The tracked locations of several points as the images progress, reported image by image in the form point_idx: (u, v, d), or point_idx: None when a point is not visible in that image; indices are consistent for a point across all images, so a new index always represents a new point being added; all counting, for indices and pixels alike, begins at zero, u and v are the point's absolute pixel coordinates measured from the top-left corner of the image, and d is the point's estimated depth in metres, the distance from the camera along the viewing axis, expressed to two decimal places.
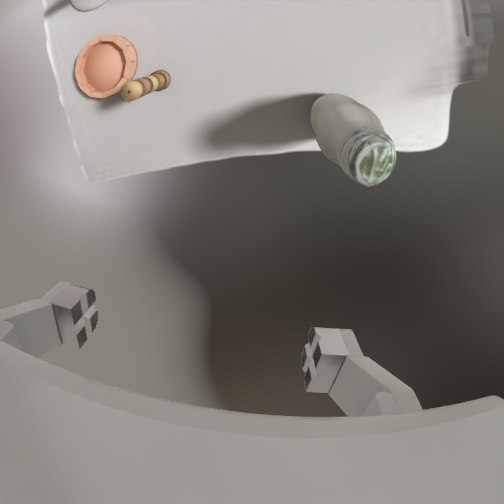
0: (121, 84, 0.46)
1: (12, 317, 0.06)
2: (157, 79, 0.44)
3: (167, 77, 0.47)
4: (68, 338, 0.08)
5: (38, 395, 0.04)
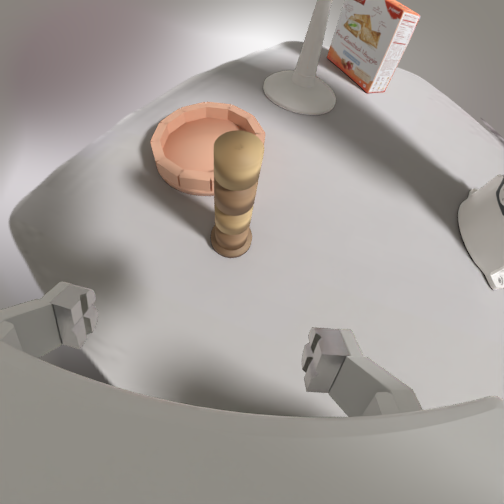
0: (195, 176, 0.31)
1: (12, 317, 0.06)
2: (249, 221, 0.27)
3: (246, 246, 0.31)
4: (68, 338, 0.08)
5: (38, 395, 0.04)
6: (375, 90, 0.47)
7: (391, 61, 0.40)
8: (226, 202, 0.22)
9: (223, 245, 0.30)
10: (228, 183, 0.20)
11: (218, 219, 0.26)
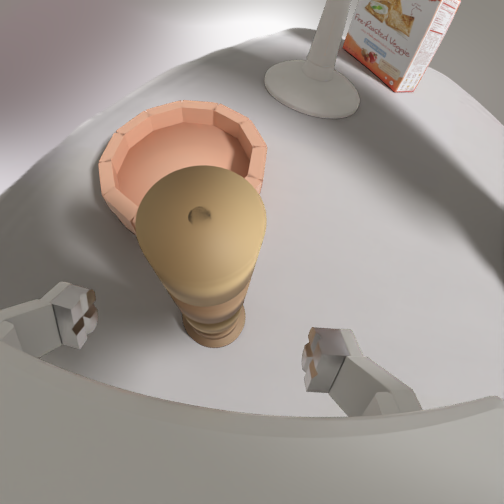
0: None
1: (12, 317, 0.06)
2: (239, 314, 0.15)
3: (236, 332, 0.19)
4: (68, 338, 0.08)
5: (38, 395, 0.04)
6: (404, 89, 0.35)
7: (426, 53, 0.28)
8: (189, 312, 0.11)
9: (200, 335, 0.18)
10: (182, 297, 0.08)
11: None
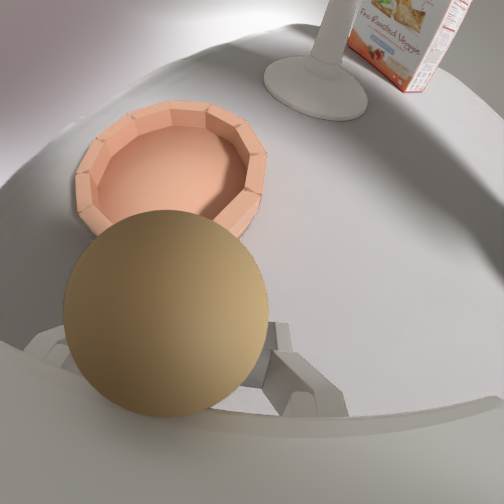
0: None
1: None
2: None
3: None
4: None
5: (38, 395, 0.04)
6: (413, 89, 0.33)
7: (437, 51, 0.25)
8: None
9: None
10: None
11: None
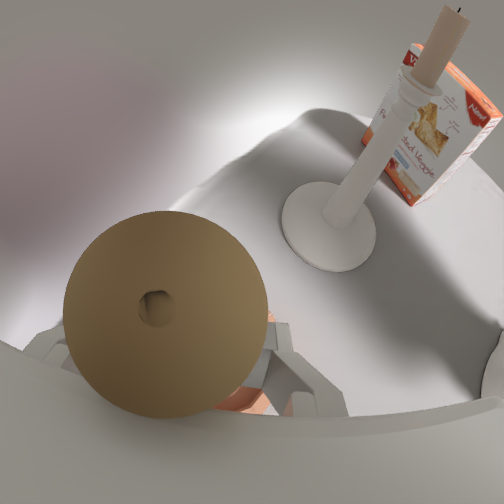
0: None
1: None
2: None
3: None
4: None
5: (38, 395, 0.04)
6: None
7: (451, 171, 0.32)
8: None
9: None
10: None
11: None
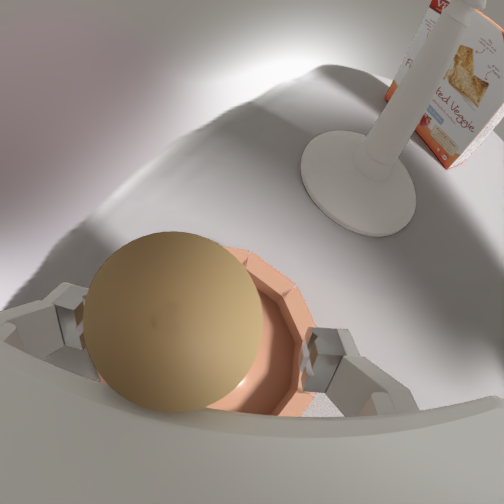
0: None
1: (14, 318, 0.06)
2: None
3: None
4: (71, 339, 0.08)
5: (38, 395, 0.04)
6: (456, 164, 0.30)
7: (491, 127, 0.23)
8: None
9: None
10: None
11: None
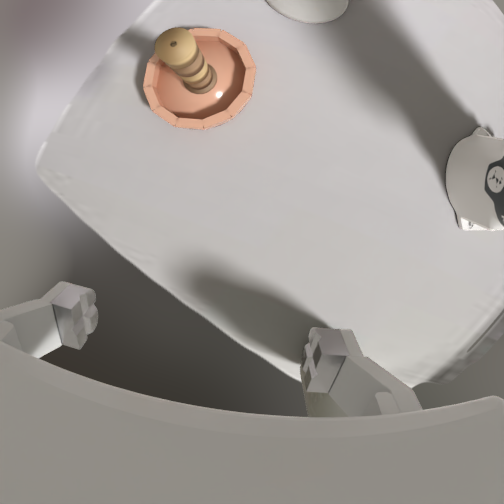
0: (189, 124, 0.32)
1: (12, 317, 0.06)
2: (206, 73, 0.27)
3: (211, 85, 0.32)
4: (68, 338, 0.08)
5: (38, 395, 0.04)
6: None
7: None
8: (177, 72, 0.23)
9: (191, 87, 0.31)
10: (172, 66, 0.21)
11: (179, 76, 0.27)
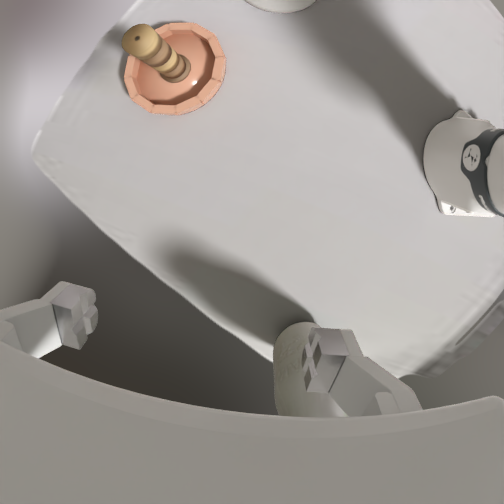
0: (163, 110, 0.34)
1: (12, 317, 0.06)
2: (175, 63, 0.29)
3: (185, 74, 0.33)
4: (68, 338, 0.08)
5: (38, 395, 0.04)
6: None
7: None
8: (146, 63, 0.25)
9: (166, 76, 0.32)
10: (138, 58, 0.22)
11: (152, 67, 0.28)
